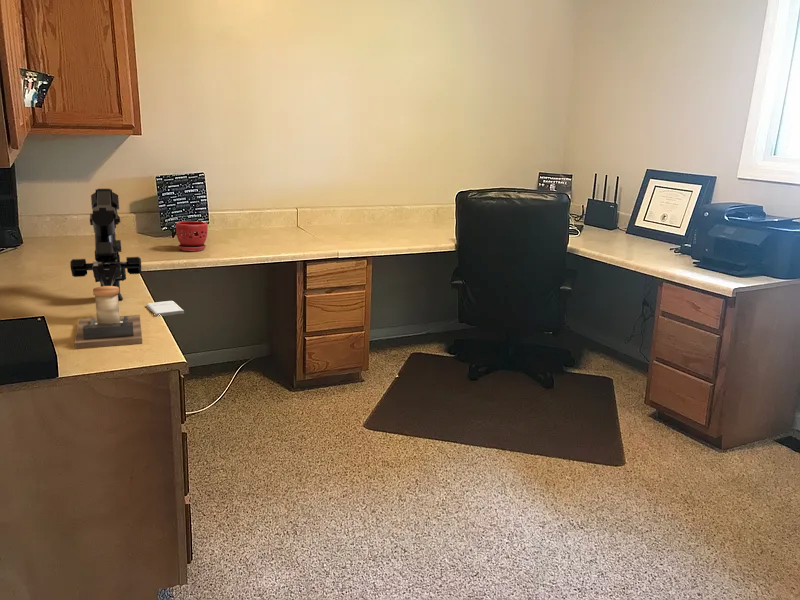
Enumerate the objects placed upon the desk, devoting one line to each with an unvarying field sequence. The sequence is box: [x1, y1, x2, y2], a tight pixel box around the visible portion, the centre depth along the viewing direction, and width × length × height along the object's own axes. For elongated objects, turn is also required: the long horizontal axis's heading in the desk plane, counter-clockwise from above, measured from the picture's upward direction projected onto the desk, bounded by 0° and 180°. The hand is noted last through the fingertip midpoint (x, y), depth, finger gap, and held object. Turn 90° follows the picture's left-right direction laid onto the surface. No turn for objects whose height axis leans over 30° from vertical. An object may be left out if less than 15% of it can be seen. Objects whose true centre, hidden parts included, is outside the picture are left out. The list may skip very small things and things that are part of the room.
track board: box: [74, 314, 143, 350], centre depth 187 cm, size 22×16×2 cm
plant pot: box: [175, 220, 209, 252], centre depth 299 cm, size 13×13×12 cm
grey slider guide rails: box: [83, 315, 134, 340], centre depth 186 cm, size 17×12×3 cm
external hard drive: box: [146, 300, 185, 317], centre depth 211 cm, size 2×8×12 cm
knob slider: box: [92, 286, 123, 325], centre depth 183 cm, size 7×7×11 cm
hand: (108, 291), depth 196 cm, fingers closed
